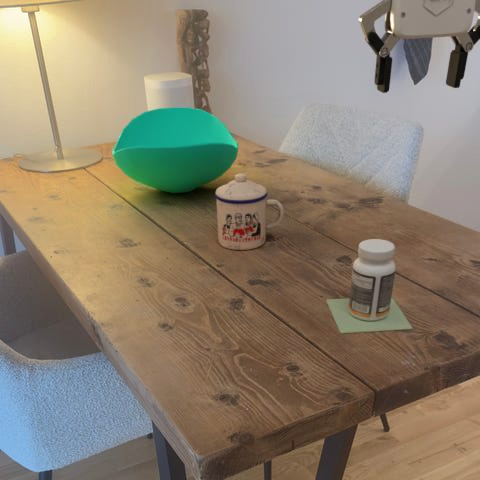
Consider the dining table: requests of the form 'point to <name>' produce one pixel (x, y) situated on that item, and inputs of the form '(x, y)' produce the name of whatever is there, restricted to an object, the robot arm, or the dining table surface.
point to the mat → (355, 325)
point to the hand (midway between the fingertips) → (417, 88)
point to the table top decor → (175, 149)
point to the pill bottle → (372, 280)
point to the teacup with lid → (243, 214)
